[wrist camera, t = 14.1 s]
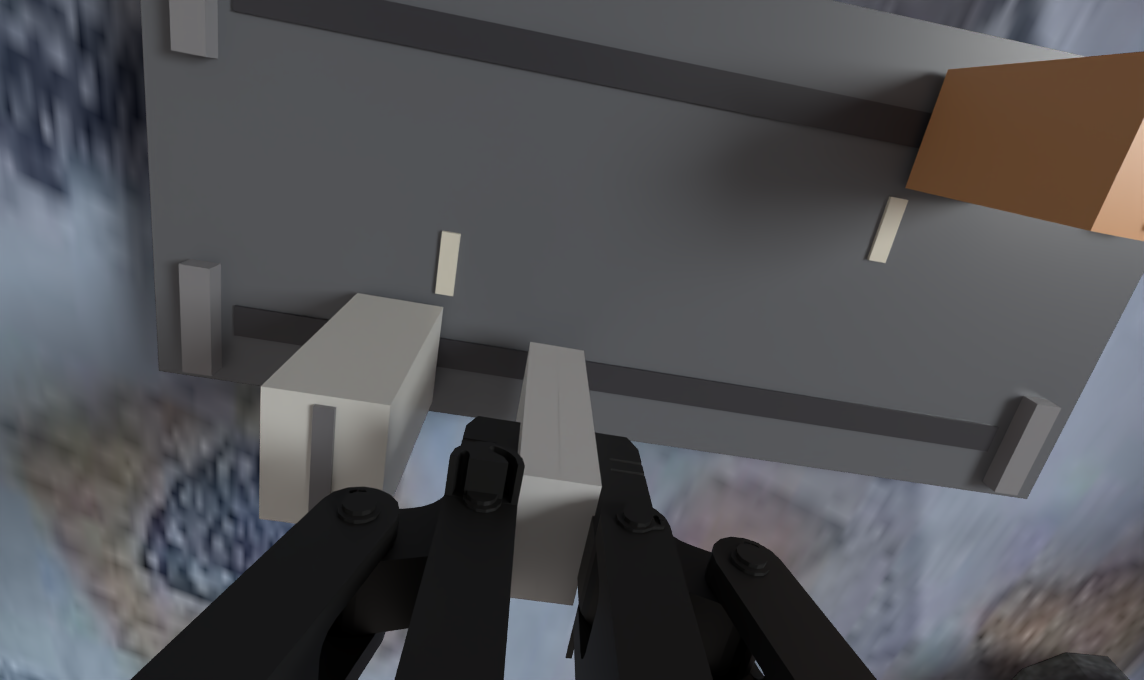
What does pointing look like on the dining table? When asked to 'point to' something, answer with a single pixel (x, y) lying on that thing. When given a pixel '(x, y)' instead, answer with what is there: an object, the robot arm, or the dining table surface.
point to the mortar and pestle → (1073, 669)
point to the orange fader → (1042, 141)
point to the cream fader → (347, 405)
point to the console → (625, 220)
